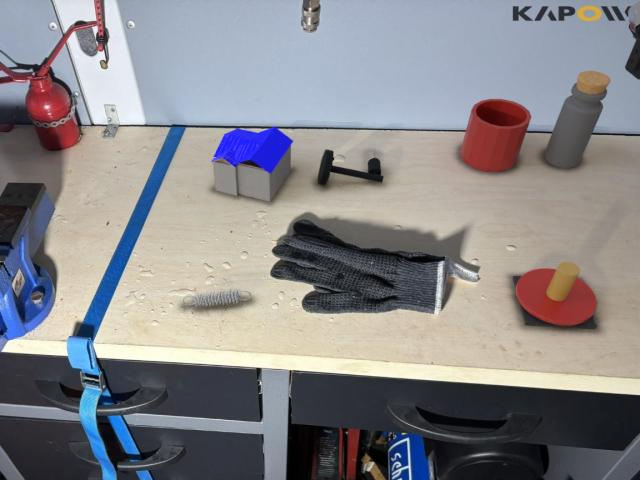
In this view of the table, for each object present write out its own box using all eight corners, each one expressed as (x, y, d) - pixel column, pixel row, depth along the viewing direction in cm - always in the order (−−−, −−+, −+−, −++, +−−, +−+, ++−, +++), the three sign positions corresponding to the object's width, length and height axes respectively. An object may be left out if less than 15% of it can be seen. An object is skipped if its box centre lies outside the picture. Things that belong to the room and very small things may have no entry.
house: (213, 191, 104) (209, 151, 98) (239, 157, 110) (237, 118, 105) (269, 205, 101) (268, 165, 95) (293, 169, 107) (293, 130, 101)
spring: (183, 311, 86) (181, 301, 84) (183, 300, 87) (181, 291, 85) (251, 305, 86) (251, 295, 84) (250, 294, 87) (250, 285, 86)
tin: (510, 142, 110) (524, 99, 104) (520, 172, 104) (536, 129, 97) (457, 140, 111) (468, 98, 105) (464, 171, 105) (476, 127, 98)
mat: (578, 280, 86) (579, 278, 86) (595, 328, 80) (597, 327, 80) (512, 277, 87) (513, 275, 87) (525, 325, 81) (526, 323, 81)
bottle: (536, 154, 107) (566, 74, 96) (561, 145, 108) (594, 65, 97) (561, 171, 103) (595, 90, 92) (587, 162, 105) (623, 81, 94)
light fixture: (374, 160, 111) (377, 203, 103) (318, 149, 111) (317, 191, 102) (385, 133, 107) (389, 175, 98) (327, 121, 107) (326, 162, 98)
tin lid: (582, 275, 86) (599, 243, 82) (602, 330, 79) (622, 299, 75) (508, 272, 87) (520, 240, 83) (522, 326, 80) (536, 294, 76)
